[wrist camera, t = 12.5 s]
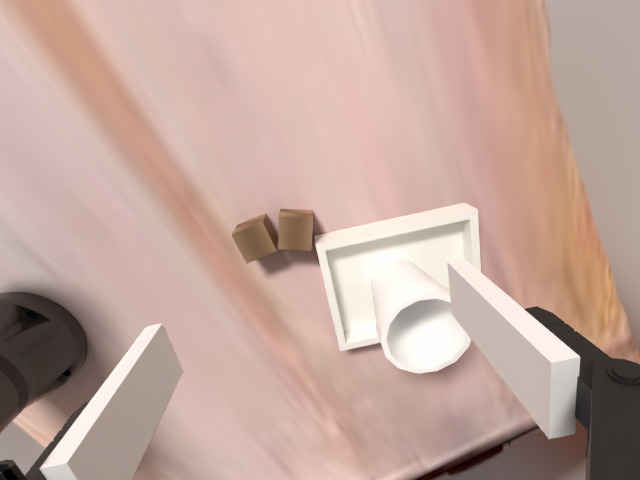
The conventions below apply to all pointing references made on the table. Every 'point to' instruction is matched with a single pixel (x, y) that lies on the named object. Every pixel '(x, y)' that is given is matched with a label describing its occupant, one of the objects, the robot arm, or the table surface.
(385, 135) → the table surface
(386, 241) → the tray
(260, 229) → the walnut block
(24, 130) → the table surface
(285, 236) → the walnut block
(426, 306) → the foam cup
